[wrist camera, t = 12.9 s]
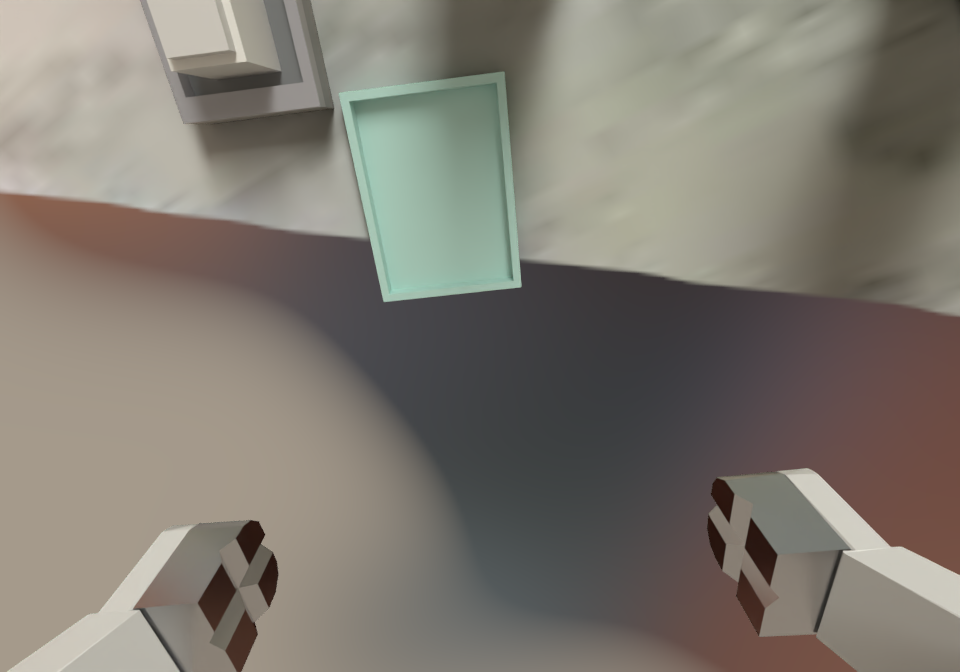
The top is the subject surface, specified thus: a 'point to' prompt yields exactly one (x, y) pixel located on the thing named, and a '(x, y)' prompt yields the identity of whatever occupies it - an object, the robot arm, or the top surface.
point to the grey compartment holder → (262, 93)
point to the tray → (436, 184)
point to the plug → (215, 37)
